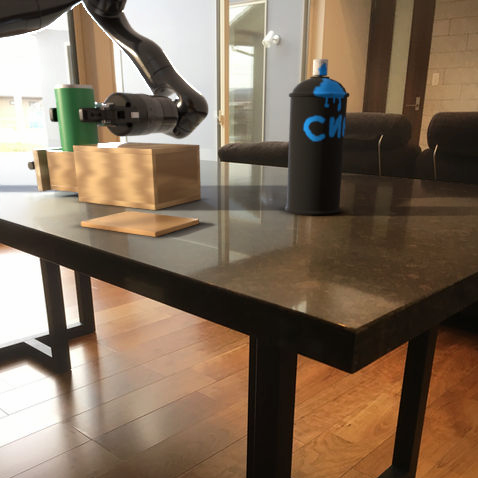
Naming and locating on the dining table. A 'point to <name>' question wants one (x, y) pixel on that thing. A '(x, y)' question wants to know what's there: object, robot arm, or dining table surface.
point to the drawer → (54, 169)
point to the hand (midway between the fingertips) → (66, 115)
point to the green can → (75, 115)
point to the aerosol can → (316, 144)
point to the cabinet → (138, 174)
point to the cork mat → (140, 223)
